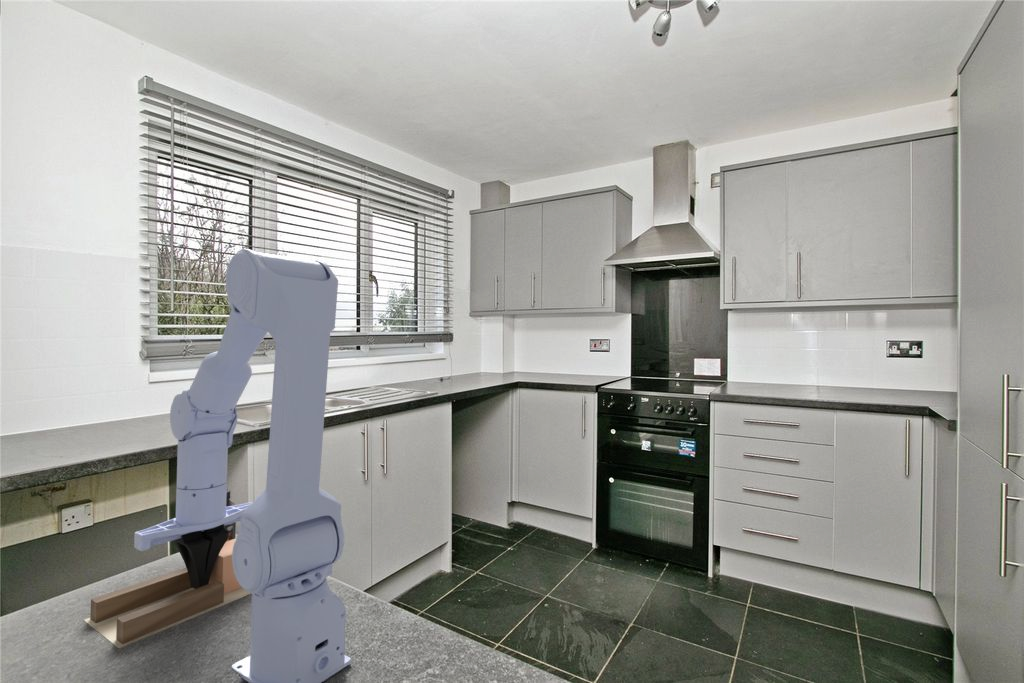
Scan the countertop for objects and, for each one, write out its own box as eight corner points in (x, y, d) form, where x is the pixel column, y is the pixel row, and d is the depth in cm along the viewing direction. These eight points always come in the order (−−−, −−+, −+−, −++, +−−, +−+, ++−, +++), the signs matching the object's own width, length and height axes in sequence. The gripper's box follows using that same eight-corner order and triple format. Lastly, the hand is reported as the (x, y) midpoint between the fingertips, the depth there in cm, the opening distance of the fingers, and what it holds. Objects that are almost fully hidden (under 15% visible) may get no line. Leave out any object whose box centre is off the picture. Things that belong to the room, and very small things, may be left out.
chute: (223, 602, 65) (224, 584, 65) (122, 644, 56) (122, 622, 56) (188, 583, 70) (189, 566, 70) (90, 619, 60) (90, 599, 60)
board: (279, 584, 71) (279, 581, 71) (118, 652, 55) (118, 648, 55) (240, 566, 76) (240, 563, 76) (83, 623, 60) (83, 619, 60)
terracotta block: (257, 580, 71) (259, 545, 71) (222, 595, 67) (223, 557, 67) (237, 571, 74) (238, 537, 74) (202, 585, 69) (203, 548, 69)
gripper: (239, 468, 75) (237, 560, 75) (124, 491, 63) (121, 600, 63) (267, 476, 71) (264, 572, 71) (150, 501, 59) (147, 618, 59)
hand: (199, 586), depth 67 cm, fingers closed
